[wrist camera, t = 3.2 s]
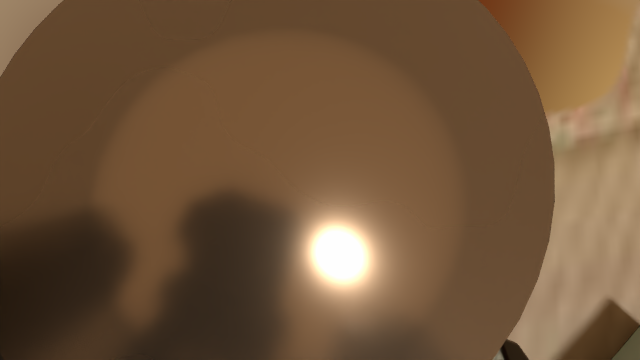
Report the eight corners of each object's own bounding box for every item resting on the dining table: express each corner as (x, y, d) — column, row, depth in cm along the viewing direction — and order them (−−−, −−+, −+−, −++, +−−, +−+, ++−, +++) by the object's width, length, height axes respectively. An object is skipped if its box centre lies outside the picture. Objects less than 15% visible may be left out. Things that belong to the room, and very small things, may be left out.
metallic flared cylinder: (422, 356, 17) (1062, 689, 2) (244, 387, 17) (-445, 978, 2) (385, 186, 19) (560, -229, 4) (228, 211, 19) (-136, -129, 4)
